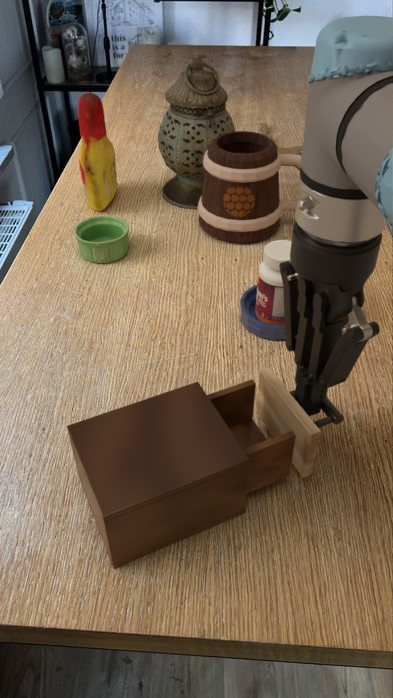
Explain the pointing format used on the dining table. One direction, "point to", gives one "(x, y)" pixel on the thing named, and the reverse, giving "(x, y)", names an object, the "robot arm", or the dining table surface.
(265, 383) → the drawer
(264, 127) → the jawbone
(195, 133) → the lantern
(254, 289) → the bowl
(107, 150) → the bottle
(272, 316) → the pill bottle
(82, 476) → the cabinet
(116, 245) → the ramekin
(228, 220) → the mug
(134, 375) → the dining table surface
